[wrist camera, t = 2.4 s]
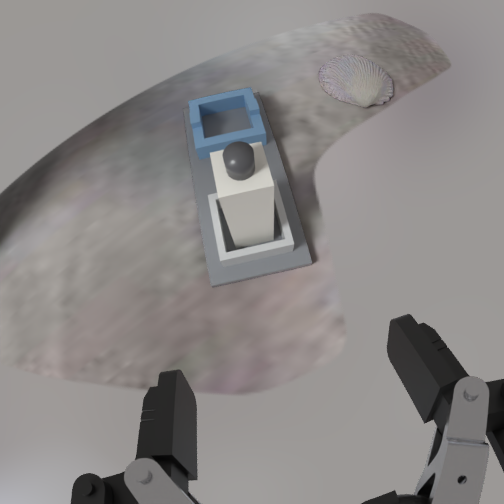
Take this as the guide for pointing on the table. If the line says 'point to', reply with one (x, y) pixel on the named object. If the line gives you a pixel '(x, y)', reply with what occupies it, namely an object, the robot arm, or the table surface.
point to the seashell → (356, 81)
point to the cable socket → (209, 208)
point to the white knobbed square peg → (245, 192)
